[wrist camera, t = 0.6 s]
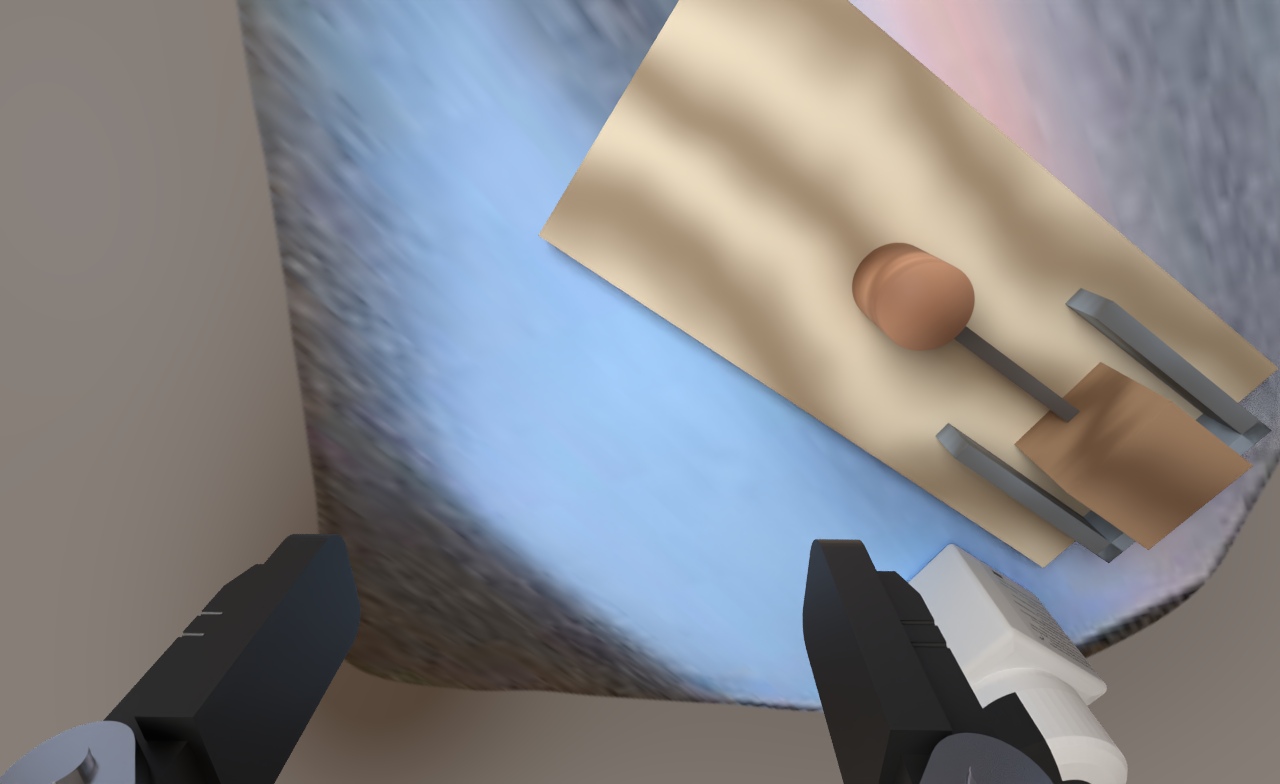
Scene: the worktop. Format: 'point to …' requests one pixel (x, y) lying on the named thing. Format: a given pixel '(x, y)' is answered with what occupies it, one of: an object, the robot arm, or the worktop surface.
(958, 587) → the container
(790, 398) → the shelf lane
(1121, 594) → the worktop surface
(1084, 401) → the wooden joystick
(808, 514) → the worktop surface
